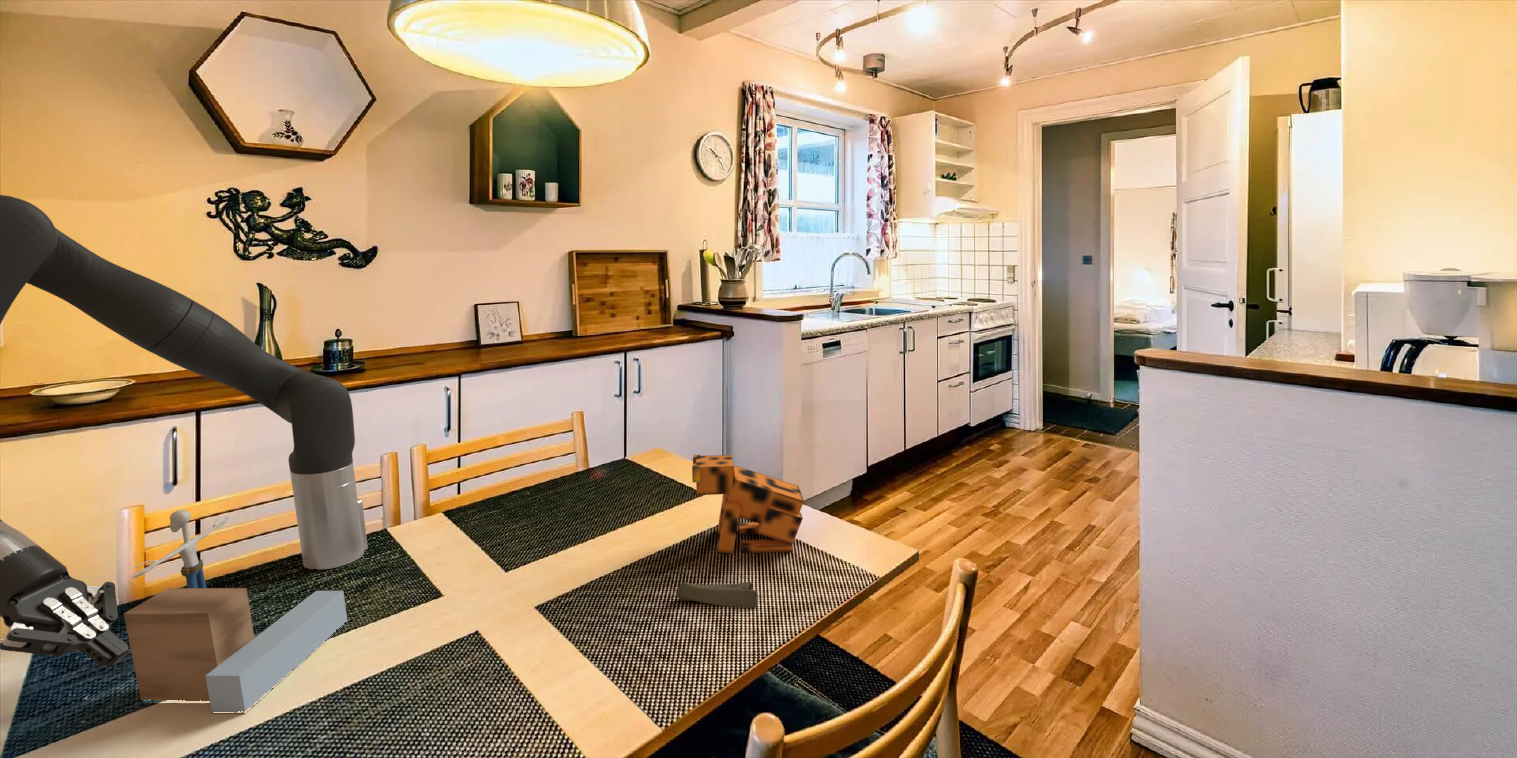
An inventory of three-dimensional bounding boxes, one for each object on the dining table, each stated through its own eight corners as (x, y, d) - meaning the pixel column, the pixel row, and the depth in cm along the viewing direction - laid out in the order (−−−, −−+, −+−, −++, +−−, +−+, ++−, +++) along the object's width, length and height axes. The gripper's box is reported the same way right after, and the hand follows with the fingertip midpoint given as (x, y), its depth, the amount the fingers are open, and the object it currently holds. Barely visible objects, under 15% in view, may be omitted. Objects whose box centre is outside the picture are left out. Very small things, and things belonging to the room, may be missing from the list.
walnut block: (183, 673, 88) (167, 588, 85) (260, 673, 87) (246, 588, 85) (141, 704, 82) (123, 613, 79) (223, 704, 82) (208, 613, 79)
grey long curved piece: (760, 593, 108) (759, 572, 107) (757, 610, 103) (756, 588, 102) (681, 590, 109) (680, 570, 108) (674, 607, 104) (673, 586, 103)
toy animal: (804, 551, 122) (805, 467, 119) (694, 555, 121) (691, 470, 118) (797, 527, 132) (797, 450, 129) (695, 531, 131) (693, 452, 128)
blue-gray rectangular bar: (320, 622, 99) (316, 590, 98) (347, 622, 99) (343, 590, 98) (212, 713, 80) (205, 675, 79) (245, 713, 80) (239, 675, 79)
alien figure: (216, 605, 104) (196, 487, 101) (254, 603, 105) (235, 485, 101) (113, 687, 85) (84, 543, 81) (161, 683, 86) (134, 541, 82)
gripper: (-46, 573, 75) (85, 672, 77) (73, 525, 88) (182, 612, 90) (-83, 617, 76) (48, 714, 78) (40, 563, 89) (149, 648, 91)
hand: (120, 659), depth 84 cm, fingers closed
